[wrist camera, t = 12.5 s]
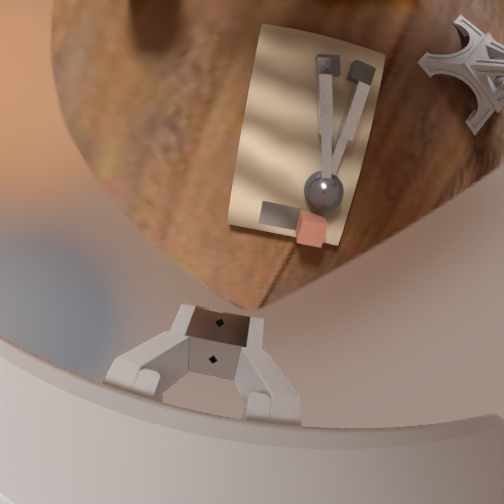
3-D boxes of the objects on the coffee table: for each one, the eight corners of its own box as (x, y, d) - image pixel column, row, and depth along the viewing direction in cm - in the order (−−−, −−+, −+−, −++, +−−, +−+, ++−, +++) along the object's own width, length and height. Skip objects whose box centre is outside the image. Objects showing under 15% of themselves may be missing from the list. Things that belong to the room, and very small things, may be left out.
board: (262, 26, 28) (261, 23, 26) (381, 56, 28) (385, 54, 26) (228, 219, 40) (226, 224, 38) (336, 240, 40) (338, 246, 39)
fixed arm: (333, 212, 37) (337, 219, 34) (298, 201, 36) (299, 207, 34) (382, 75, 28) (389, 74, 26) (346, 60, 28) (350, 57, 26)
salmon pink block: (300, 209, 36) (302, 219, 33) (323, 214, 36) (327, 224, 33) (295, 231, 38) (296, 243, 35) (317, 235, 38) (321, 247, 35)
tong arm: (338, 205, 36) (342, 211, 34) (307, 205, 36) (308, 211, 34) (338, 58, 27) (342, 55, 25) (304, 56, 28) (306, 53, 26)
